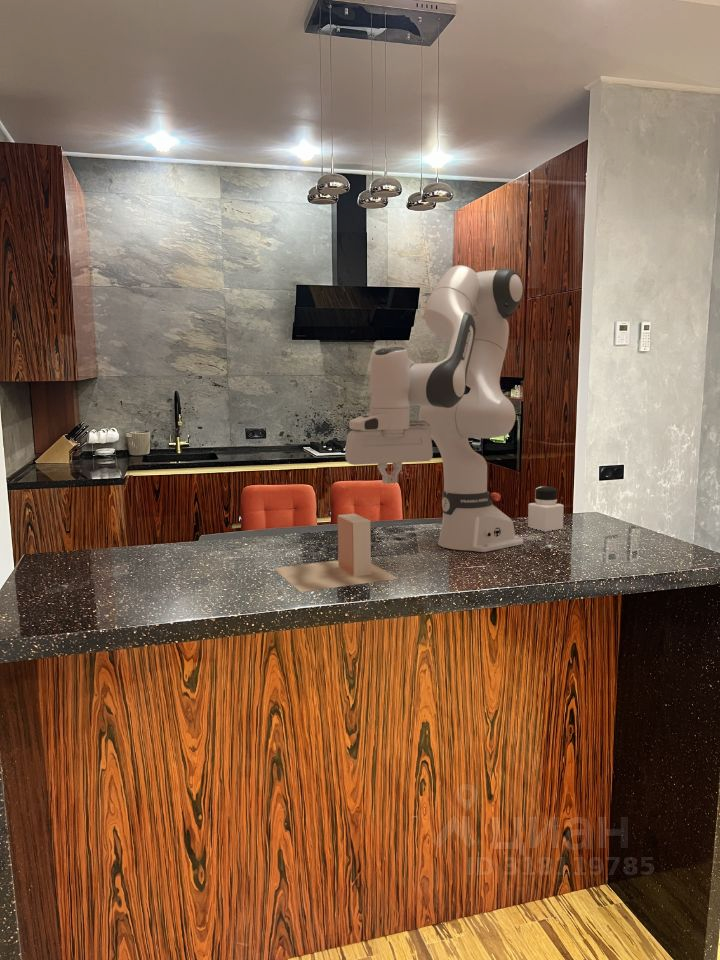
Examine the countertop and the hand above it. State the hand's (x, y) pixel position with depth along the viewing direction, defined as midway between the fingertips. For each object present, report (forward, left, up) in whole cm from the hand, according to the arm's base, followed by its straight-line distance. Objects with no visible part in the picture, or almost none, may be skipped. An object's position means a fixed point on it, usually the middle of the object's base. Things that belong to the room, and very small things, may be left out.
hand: (389, 483), depth 157 cm
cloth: (+14, 0, -20) cm, 24 cm away
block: (+9, 0, -19) cm, 21 cm away
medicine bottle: (-59, -21, -20) cm, 66 cm away
